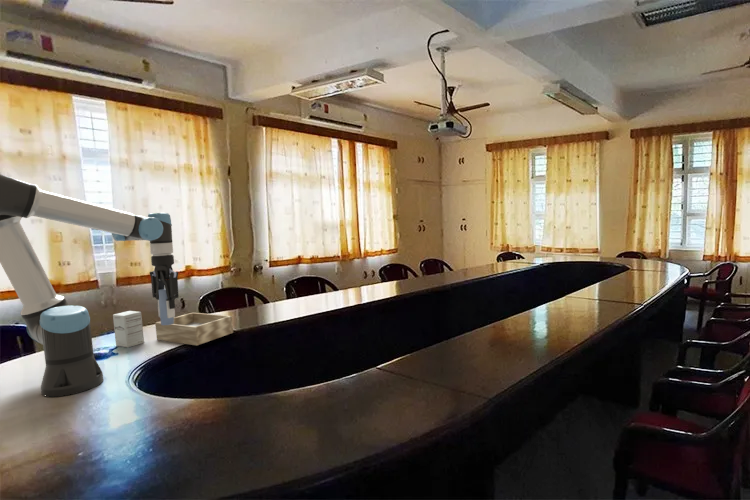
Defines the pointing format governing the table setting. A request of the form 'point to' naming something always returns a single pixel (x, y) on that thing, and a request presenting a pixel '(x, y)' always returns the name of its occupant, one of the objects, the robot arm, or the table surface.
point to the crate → (195, 328)
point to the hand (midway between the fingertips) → (166, 316)
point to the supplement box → (128, 328)
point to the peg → (164, 308)
